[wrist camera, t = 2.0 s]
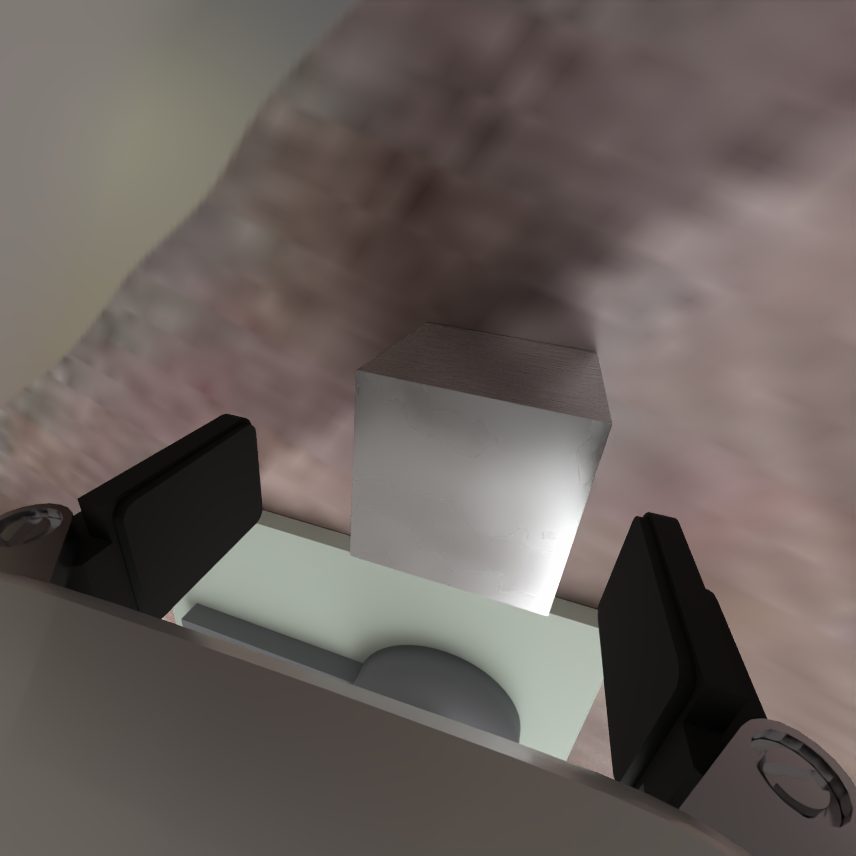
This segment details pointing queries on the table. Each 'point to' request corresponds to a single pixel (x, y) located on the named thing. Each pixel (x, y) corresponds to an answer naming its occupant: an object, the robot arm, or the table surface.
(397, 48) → the table surface
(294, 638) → the board
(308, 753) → the robot arm
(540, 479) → the brushed aluminum cube
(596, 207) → the table surface
